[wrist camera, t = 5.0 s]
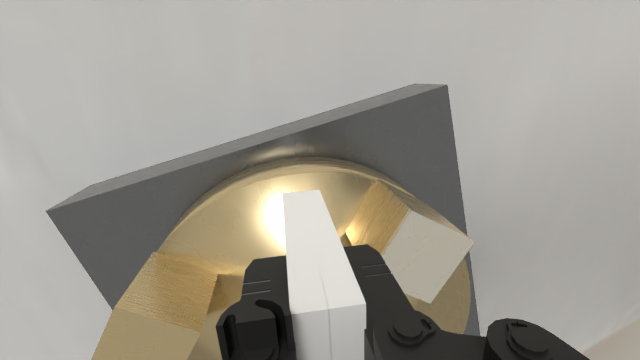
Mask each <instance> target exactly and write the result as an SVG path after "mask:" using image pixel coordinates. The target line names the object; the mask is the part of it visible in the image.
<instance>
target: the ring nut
mask: <svg viewBox="0 0 640 360" xmlns="http://www.w3.org/2000/svg"><path fill="white" fill-rule="evenodd" d="M310 190H320V192H321V195H322V197H323V200H324V202H325V204H326V207H327V209H328V212H329V214H330V217H331V219H332V221H333V224H334V226H335V229H336V231H337V234H338V236H339V239H340V241H341V243H342V246H343V247H347V246H355V245H364V244H368V245H369V246H371V247H372V248H374V249H375V250H377V251H378V252H379V253H380V254H381V256H382V258H383V259H384V261H385V263H386V265H387V266H388V268H389V269H390V271H391V274H393V276H394V277H395V279H396V281H397V282H398V284H399V286H400V287H401V289H402V291H403V292H404V294H405V295H406V297H407V299H408V300H409V302H410V304H411V305H412V307H413V309H414V310H416V311H420V312H421V313H423V314H425V315H426V316H428V317H430V318H431V319H432V320H433V321H434V322H435V323H436V324H437V325H438V326H439V327H440V329H441V330H444V331H447V332H452V333H457V334H464V331H465V328H466V324H467V320H468V316H469V310H470V299H471V292H470V278H469V274H468V269H467V264H466V261H465V259H464V257H465V255H466V254H467V252H468V251H469V250H470V248H471V247H472V245H473V244H474V243H475V242H474V241H473V240H472V239H470V238H469V237H468V236H467V235H465V234H464V233H463V232H462V231H460V230H459V229H458V228H457V227H456V226H454V225H453V224H452V223H451V222H449V221H448V220H447V219H446V218H444V217H443V216H442V215H441V214H439V213H438V212H437V211H436V210H434V209H433V208H432V207H431V206H430V205H428V204H426V203H424V202H423V201H421V200H419V199H417V198H416V197H414V196H413V195H412V194H411V193H410V192H408V191H407V190H406V189H405V188H403V187H402V186H401V185H400V184H399V183H397V182H396V181H394V180H392V179H391V178H389V177H388V176H386V175H384V174H383V173H381V172H378V171H376V170H374V169H371V168H369V167H367V166H364V165H361V164H357V163H354V162H350V161H347V160H341V159H334V158H327V157H298V158H289V159H281V160H277V161H273V162H269V163H265V164H261V165H257V166H255V167H252V168H250V169H247V170H245V171H242V172H239V173H237V174H235V175H234V176H232V177H230V178H228V179H226V180H224V181H223V182H221V183H219V184H217V185H216V186H215V187H213V188H212V189H211V190H209V191H208V192H207V193H205V194H204V195H202V196H201V197H200V198H199V199H198V200H197V201H196V202H195V203H194V204H193V205H192V206H191V207H190V208H189V209H188V210H187V211H186V212H185V213H184V214H183V216H182V217H181V218H180V220H179V221H178V222H177V223H176V225H175V226H174V227H173V229H172V230H171V232H170V233H169V235H168V236H167V238H166V239H165V241H164V242H163V243H162V245H161V246H160V248H159V249H158V251H157V252H153V253H152V254H151V256H150V257H149V259H148V260H147V262H146V263H145V264H144V266H143V267H142V269H141V270H140V272H139V273H138V274H137V276H136V277H135V279H134V280H133V281H132V283H131V284H130V286H129V287H128V289H127V290H126V291H125V293H124V294H123V296H122V297H121V298H120V300H119V301H118V303H117V304H116V306H115V307H114V309H113V312H112V314H111V316H110V318H109V321H108V323H107V325H106V328H105V330H104V332H103V334H102V337H101V339H100V341H99V344H98V346H97V348H96V350H95V353H94V355H93V357H92V360H222V356H221V351H220V346H219V342H218V337H217V332H216V327H215V326H216V324H217V322H218V320H219V318H220V316H221V315H222V314H223V313H224V312H225V311H226V310H227V309H228V308H229V307H230V306H231V305H233V304H235V303H236V302H238V301H240V300H241V296H242V287H243V281H244V274H245V270H246V268H247V267H248V266H249V265H250V263H251V262H252V261H253V259H259V258H267V257H275V256H283V255H286V246H285V231H284V216H283V201H282V193H290V192H300V191H310Z"/></svg>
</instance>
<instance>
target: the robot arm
mask: <svg viewBox="0 0 640 360" xmlns="http://www.w3.org/2000/svg"><path fill="white" fill-rule="evenodd" d="M282 201H283V216H284V231H285V246H286V255H283V256H275V257H267V258H259V259H253V261H252V262H251V263H250V265H249V266H248V267H247V268H246V270H245V274H244V281H243V287H242V296H241V300H240V301H238V302H236V303H235V304H233V305H231V306H230V307H229V308H228V309H227V310H226V311H225V312H224V313H223V314H222V315H221V316H220V318H219V320H218V322H217V324H216V326H215V327H216V332H217V337H218V342H219V346H220V351H221V356H222V360H589V359H588V358H587V357H585V356H584V355H582V354H581V353H580V352H578V351H577V350H575V349H574V348H572V347H571V346H569V345H568V344H567V343H565V342H564V341H562V340H561V339H559V338H558V337H557V336H555V335H554V334H552V333H550V332H549V331H547V330H545V329H543V328H541V327H540V326H538V325H536V324H533V323H530V322H527V321H524V320H519V319H509V318H506V319H501V320H496V321H494V322H493V323H492V324H491V325H490V326H488V331H487V336H486V337H482V336H473V335H465V334H457V333H452V332H447V331H444V330H441V329H440V327H439V326H438V325H437V324H436V323H435V322H434V321H433V320H432V319H431V318H430V317H428V316H426V315H425V314H423V313H421V312H420V311H416V310H414V309H413V307H412V305H411V304H410V302H409V300H408V299H407V297H406V295H405V294H404V292H403V291H402V289H401V287H400V286H399V284H398V282H397V281H396V279H395V277H394V276H393V274H391V271H390V269H389V268H388V266H387V265H386V263H385V261H384V259H383V258H382V256H381V254H380V253H379V252H378V251H377V250H375V249H374V248H372V247H371V246H369V245H368V244H364V245H355V246H347V247H343V246H342V243H341V241H340V239H339V236H338V234H337V231H336V229H335V226H334V224H333V221H332V219H331V217H330V214H329V212H328V209H327V207H326V204H325V202H324V200H323V197H322V195H321V192H320V190H310V191H300V192H290V193H282Z"/></svg>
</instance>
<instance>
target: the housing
mask: <svg viewBox="0 0 640 360" xmlns="http://www.w3.org/2000/svg"><path fill="white" fill-rule="evenodd" d="M298 157H327V158H334V159H341V160H347V161H350V162H354V163H357V164H361V165H364V166H367V167H369V168H371V169H374V170H376V171H378V172H381V173H383V174H384V175H386V176H388V177H389V178H391V179H392V180H394V181H396V182H397V183H399V184H400V185H401V186H402V187H403V188H405V189H406V190H407V191H408V192H410V193H411V194H412V195H413V196H414V197H416V198H417V199H419V200H421V201H423V202H424V203H426V204H428V205H430V206H431V207H432V208H433V209H434V210H436V211H437V212H438V213H439V214H441V215H442V216H443V217H444V218H446V219H447V220H448V221H449V222H451V223H452V224H453V225H454V226H456V227H457V228H458V229H459V230H460V231H462V232H463V233H464V234H465V235H467V231H466V223H465V216H464V208H463V200H462V193H461V185H460V177H459V170H458V162H457V155H456V147H455V139H454V132H453V124H452V117H451V109H450V101H449V94H448V86H447V85H439V84H413V85H410V86H407V87H403V88H400V89H397V90H394V91H391V92H387V93H384V94H381V95H378V96H375V97H371V98H368V99H365V100H362V101H359V102H355V103H352V104H349V105H346V106H343V107H340V108H336V109H333V110H330V111H327V112H324V113H320V114H317V115H314V116H311V117H308V118H304V119H301V120H298V121H295V122H292V123H288V124H285V125H282V126H279V127H276V128H272V129H269V130H266V131H263V132H260V133H256V134H253V135H250V136H247V137H244V138H241V139H237V140H234V141H231V142H228V143H225V144H221V145H218V146H215V147H212V148H209V149H205V150H202V151H199V152H196V153H193V154H189V155H186V156H183V157H180V158H177V159H173V160H170V161H167V162H164V163H161V164H158V165H154V166H151V167H148V168H145V169H142V170H138V171H135V172H132V173H129V174H126V175H122V176H119V177H116V178H113V179H110V180H106V181H103V182H100V183H97V184H94V185H91V186H89V187H87V188H85V189H84V190H82V191H80V192H78V193H77V194H75V195H73V196H71V197H70V198H68V199H66V200H64V201H63V202H61V203H59V204H57V205H56V206H54V207H52V208H50V209H49V210H47V211H46V212H47V214H48V215H49V217H50V218H51V220H52V221H53V222H54V224H55V225H56V227H57V228H58V230H59V231H60V233H61V234H62V236H63V237H64V239H65V240H66V242H67V243H68V245H69V246H70V248H71V249H72V251H73V252H74V254H75V255H76V257H77V258H78V259H79V261H80V262H81V264H82V265H83V267H84V268H85V270H86V271H87V273H88V274H89V276H90V277H91V279H92V280H93V282H94V283H95V285H96V286H97V288H98V289H99V291H100V292H101V294H102V295H103V296H104V298H105V299H106V301H107V302H108V304H109V305H110V307H111V308H112V310H113V309H114V307H115V306H116V304H117V303H118V301H119V300H120V298H121V297H122V296H123V294H124V293H125V291H126V290H127V289H128V287H129V286H130V284H131V283H132V281H133V280H134V279H135V277H136V276H137V274H138V273H139V272H140V270H141V269H142V267H143V266H144V264H145V263H146V262H147V260H148V259H149V257H150V256H151V254H152V253H153V252H157V251H158V249H159V248H160V246H161V245H162V243H163V242H164V241H165V239H166V238H167V236H168V235H169V233H170V232H171V230H172V229H173V227H174V226H175V225H176V223H177V222H178V221H179V220H180V218H181V217H182V216H183V214H184V213H185V212H186V211H187V210H188V209H189V208H190V207H191V206H192V205H193V204H194V203H195V202H196V201H197V200H198V199H199V198H200V197H201V196H202V195H204V194H205V193H207V192H208V191H209V190H211V189H212V188H213V187H215V186H216V185H217V184H219V183H221V182H223V181H224V180H226V179H228V178H230V177H232V176H234V175H235V174H237V173H239V172H242V171H245V170H247V169H250V168H252V167H255V166H257V165H261V164H265V163H269V162H273V161H277V160H281V159H289V158H298ZM464 259H465V261H466V264H467V269H468V274H469V278H470V292H471V299H470V310H469V316H468V320H467V324H466V328H465V331H464V334H465V335H473V336H480V330H479V322H478V315H477V307H476V299H475V292H474V284H473V277H472V269H471V261H470V254H469V251H468V252H467V254H466V255H465V257H464Z"/></svg>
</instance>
